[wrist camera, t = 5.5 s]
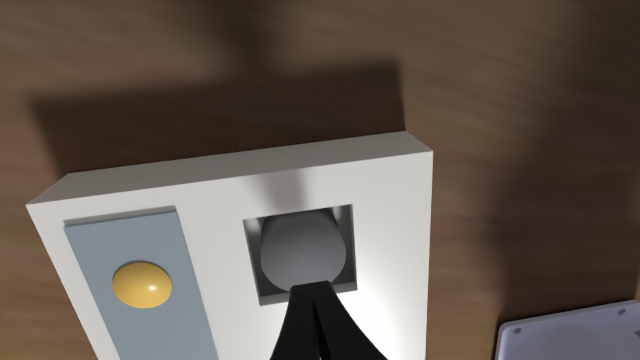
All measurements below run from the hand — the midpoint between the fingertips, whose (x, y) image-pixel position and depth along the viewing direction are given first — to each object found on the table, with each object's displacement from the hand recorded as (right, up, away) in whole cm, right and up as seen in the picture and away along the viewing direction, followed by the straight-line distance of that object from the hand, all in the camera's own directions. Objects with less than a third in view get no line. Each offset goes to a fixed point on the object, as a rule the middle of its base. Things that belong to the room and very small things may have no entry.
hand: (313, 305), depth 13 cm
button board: (-2, -6, +9) cm, 11 cm away
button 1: (-1, +2, +4) cm, 5 cm away
